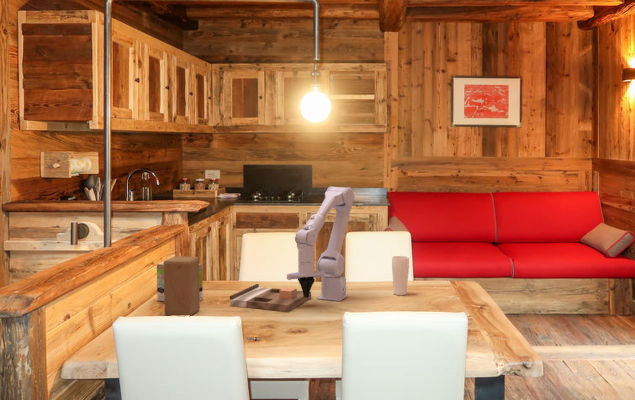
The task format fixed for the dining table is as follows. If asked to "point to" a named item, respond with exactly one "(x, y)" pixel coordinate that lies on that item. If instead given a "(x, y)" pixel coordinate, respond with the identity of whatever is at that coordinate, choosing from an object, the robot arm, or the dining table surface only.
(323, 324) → the dining table surface
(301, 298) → the trap board
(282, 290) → the terracotta block
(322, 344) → the dining table surface
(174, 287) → the wooden block
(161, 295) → the tea box
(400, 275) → the drinking glass
